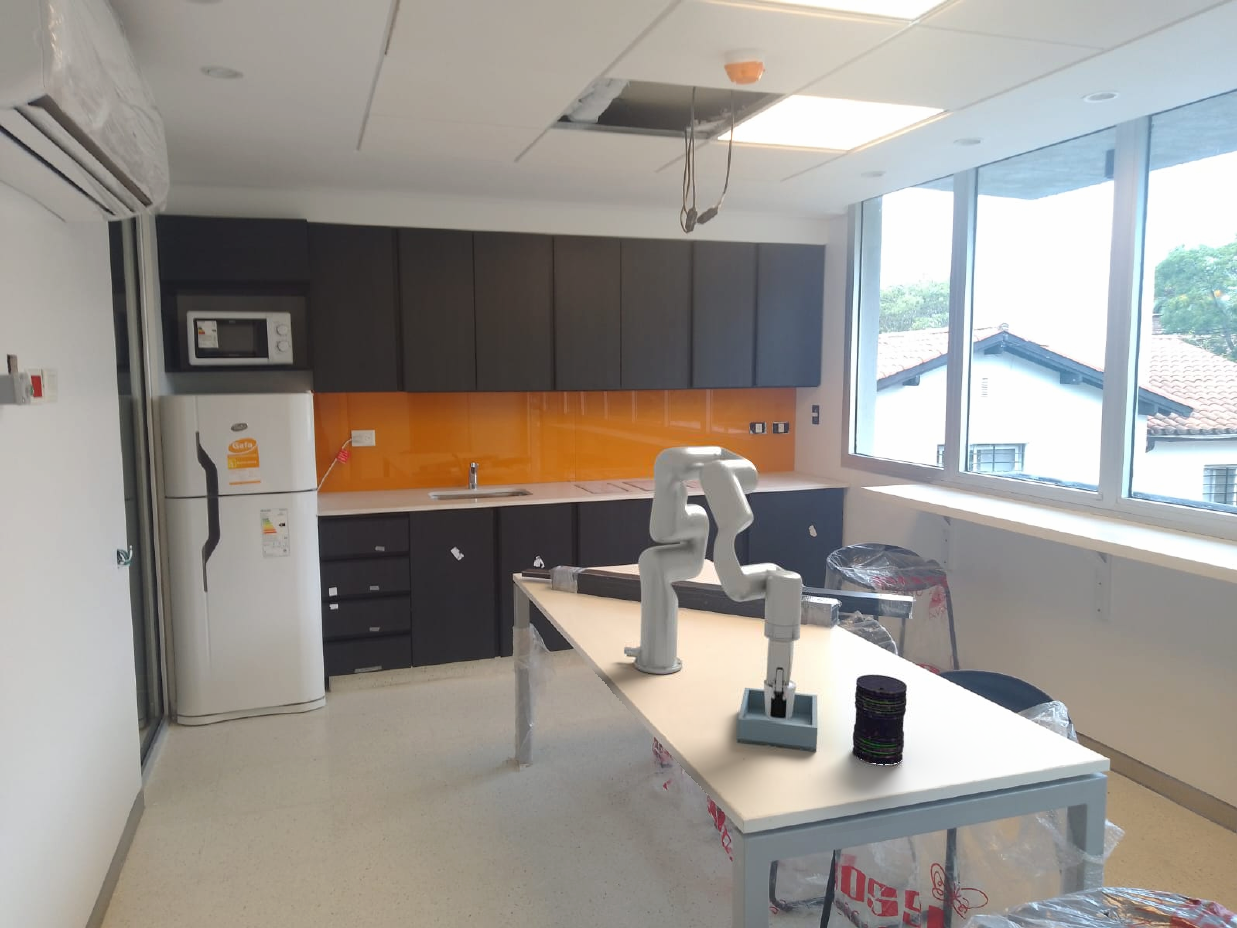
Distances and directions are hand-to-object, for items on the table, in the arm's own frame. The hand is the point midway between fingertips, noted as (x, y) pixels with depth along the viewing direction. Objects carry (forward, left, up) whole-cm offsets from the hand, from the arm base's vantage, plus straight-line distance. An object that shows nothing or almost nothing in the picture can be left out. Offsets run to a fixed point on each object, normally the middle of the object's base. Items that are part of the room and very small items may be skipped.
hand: (778, 710), depth 178 cm
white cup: (0, 0, -1) cm, 1 cm away
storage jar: (+20, -7, -4) cm, 22 cm away
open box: (0, 0, -4) cm, 4 cm away
